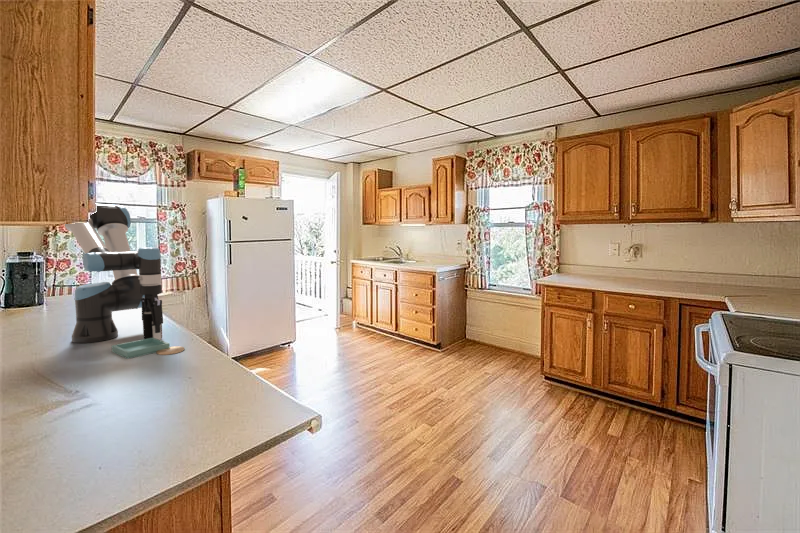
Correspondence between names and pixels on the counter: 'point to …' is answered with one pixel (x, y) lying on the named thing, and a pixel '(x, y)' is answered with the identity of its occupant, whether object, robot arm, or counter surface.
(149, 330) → the beverage can
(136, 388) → the counter surface
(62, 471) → the counter surface
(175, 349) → the cork coaster
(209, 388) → the counter surface
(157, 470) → the counter surface
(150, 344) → the tray
